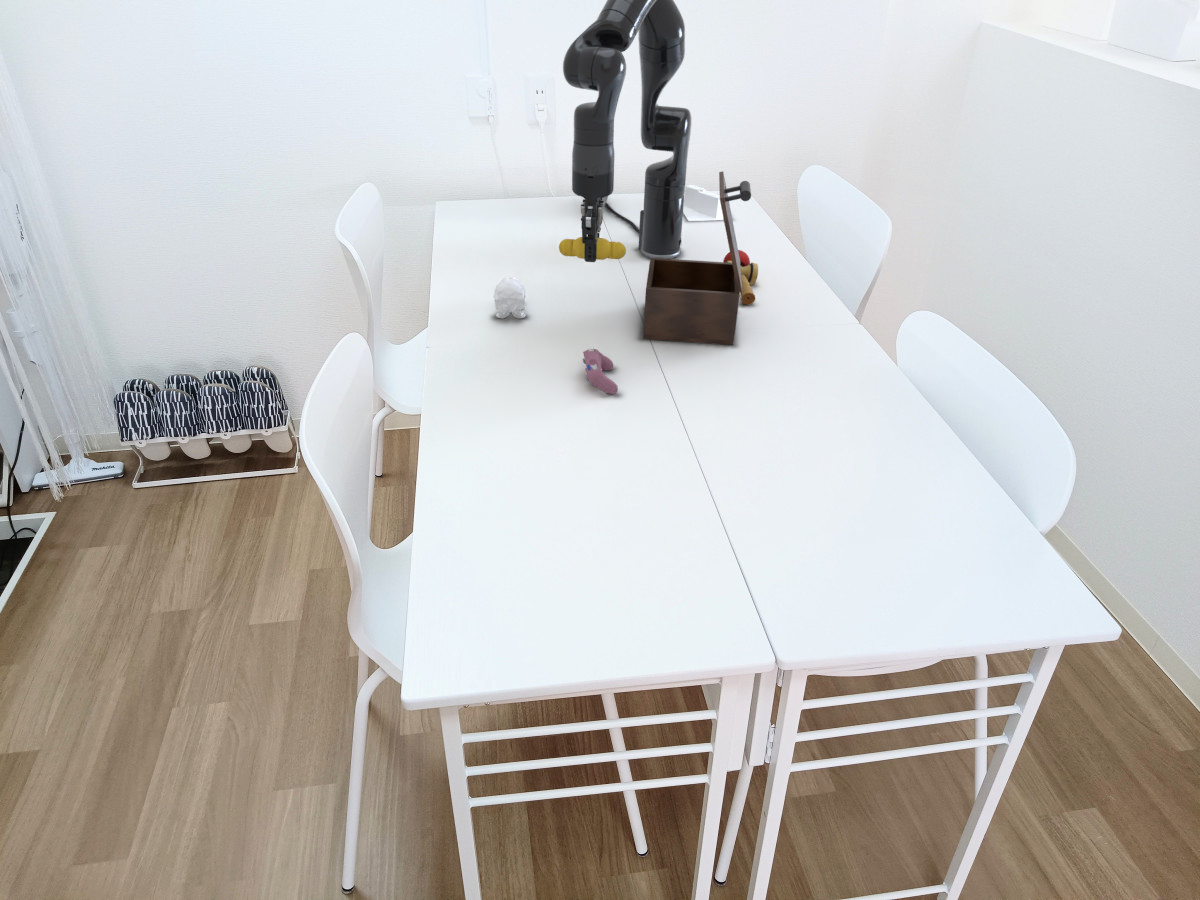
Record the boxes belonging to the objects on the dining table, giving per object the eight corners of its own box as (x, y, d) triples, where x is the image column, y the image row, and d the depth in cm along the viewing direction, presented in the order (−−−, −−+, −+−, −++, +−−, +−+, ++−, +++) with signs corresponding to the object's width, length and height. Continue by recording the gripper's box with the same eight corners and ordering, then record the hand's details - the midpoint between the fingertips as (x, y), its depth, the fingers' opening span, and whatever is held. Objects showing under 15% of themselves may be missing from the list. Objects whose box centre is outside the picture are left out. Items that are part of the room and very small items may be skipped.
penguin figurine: (492, 283, 171) (496, 263, 181) (494, 323, 175) (497, 302, 185) (524, 283, 171) (526, 264, 181) (525, 323, 175) (527, 302, 186)
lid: (719, 198, 154) (750, 191, 153) (719, 172, 166) (747, 165, 165) (737, 292, 164) (766, 287, 163) (736, 261, 176) (762, 255, 175)
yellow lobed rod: (557, 260, 164) (556, 240, 162) (560, 251, 168) (560, 231, 165) (624, 264, 163) (625, 244, 161) (626, 255, 167) (626, 235, 164)
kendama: (767, 309, 186) (752, 264, 199) (767, 285, 182) (751, 240, 195) (732, 315, 187) (718, 270, 200) (730, 291, 182) (717, 246, 195)
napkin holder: (731, 219, 226) (733, 198, 222) (688, 221, 224) (690, 199, 221) (715, 199, 238) (717, 178, 234) (675, 201, 236) (676, 180, 233)
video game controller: (593, 375, 163) (576, 346, 159) (615, 365, 162) (599, 336, 158) (597, 403, 155) (580, 374, 151) (620, 393, 154) (603, 363, 150)
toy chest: (642, 339, 172) (645, 288, 165) (647, 306, 184) (650, 257, 177) (733, 345, 170) (739, 294, 164) (732, 311, 182) (737, 263, 176)
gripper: (577, 152, 161) (577, 240, 171) (566, 178, 149) (567, 270, 160) (617, 154, 160) (614, 243, 170) (610, 180, 149) (607, 273, 159)
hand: (591, 255), depth 165 cm, fingers closed on yellow lobed rod, 4 cm apart
